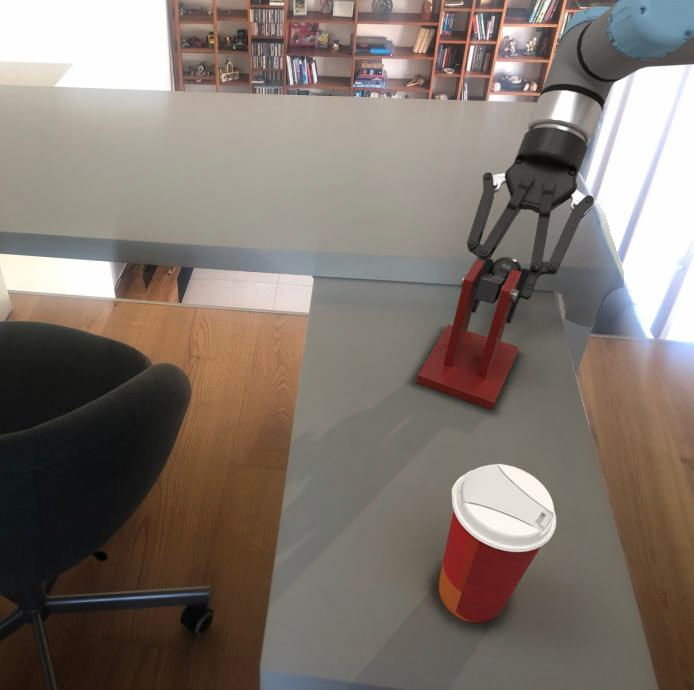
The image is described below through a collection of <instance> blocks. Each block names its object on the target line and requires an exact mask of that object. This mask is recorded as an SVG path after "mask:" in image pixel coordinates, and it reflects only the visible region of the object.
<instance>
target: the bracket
mask: <svg viewBox="0 0 694 690" xmlns="http://www.w3.org/2000/svg"><path fill="white" fill-rule="evenodd" d="M484 263H485V262H484V261H480V260H477V259H475V260H474V262H473V263H472V265H471V266H470V269H469V270H468V272H467V273H466V274H463V276H462V278H461V282H460V284H459V285H460V288H461V289H460V294H459V298H458V302H457V307H456V311H455V315H454V318H453V323H452V324H447V325H446V326H445V329H444V330H443V332H442V334H441V335H440V336H439V339H438V340H437V342H436V344H435V345H434V347H433V349H432V351H431V352H430V354H429V355H428V358H427V359H426V360H425V362H424V364H423V365H422V367H421V369H420V371H419V373H418V374H417V376H416V377H417V378H416V384H418V385H421V386H425V387H427V388H430V389H433V390H434V391H435V390H436V391H438V392H442V393H443V394H446V395H450V396H451V397H455V398H458V399H461V400H463V401H466V402H469V403H471V404H475V405H477V406H479V407H482V408H485V409H488V410H491V411H492V410H493V409H494V407H495V405H496V403H497V400H498V398H499V395H500V394H501V391H502V389H503V387H504V384H505V382H506V380H507V378H508V375H509V373H510V371H511V369H512V367H513V364H514V362H515V359H516V358H517V356H518V353H519V350H520V347H519V346H517V345H513V344H511V343H507V342H504V341H502V338H503V334H504V331H505V327H506V324H507V323H506V321H507V318H508V314H509V311H510V308H511V304H512V302H513V303H515V301H516V299H517V296H518V293H519V290H516V288H517V285H518V281H519V278H520V275H521V272H520V271H516V270H512V271H511V272H510V274H509V276H508V278H507V280H506V282H505V284H504V286H502V289H501V292H500V295H499V298H498V299H497V303H496V307H495V310H494V313H493V317H492V321H491V325H490V328H489V332H488V334H487V336H486V335H482V334H479V333H477V332H473V331H470V330H468V328H469V324H470V321H471V316H472V313H473V312H472V309H473V305H474V301H475V299H474V296H475V292H476V289H477V286H478V283H479V280H480V278H481V274H482V270H483V266H484Z"/></svg>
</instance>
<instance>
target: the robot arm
mask: <svg viewBox="0 0 694 690" xmlns="http://www.w3.org/2000/svg"><path fill="white" fill-rule="evenodd" d="M688 65H690V66H691V65H694V0H618V1H617V2H615V4H613V5H612V6H611V7H608V6H591V8H589V9H585V8H584V9H581V10H578V11H577V12H576V13H575V14H573V15H572V17H571V18H570V19H569V20H568V23H567V25H566V27H565V29H564V31H563V33H562V34H561V36H560V38H559V40H558V43H557V46H556V51H555V53H554V57H553V59H552V62H551V64H550V67H549V70H548V73H547V75H546V77H545V81H544V83H543V86H542V89H541V91H540V94H539V96H538V98H537V101H536V103H535V107H534V109H533V112H532V114H531V117H530V120H529V122H528V124H527V131H526V132H525V133H524V135H523V138H522V140H521V142H520V146H519V148H518V152H517V153H516V156H515V159H514V161H513V163H512V164H511V166H509V167H508V168H507V169H506V170H505V172H502V173H496V174H492V172H485V173H483V175H482V189H483V190H482V194H481V197H480V200H479V203H478V207H477V209H476V213H475V215H474V219H473V223H472V224H471V225H472V226H471V228H470V232H469V235H468V238H467V242H466V245H467V249H468V252H469V253H471V254H473V255H475V256H476V260H480V261H484V262H485V263H484V266H483V270H482V274H481V277H482V276H483V275H484V274H489V275H491V272H490V271H491V267H492V265H493V263H494V260H493V259H491V258H492V257H493V255H494V253H495V252H496V250H497V248H498V246H499V245H500V243H501V242H502V241H503V238H504V237H505V235H506V233H507V232H508V231H509V229H510V227H511V225H512V224H513V222H514V221H515V219H516V217H517V216H518V215H519V214H520V212H521V210H524V211H526V210H527V211H532V212H534V213H536V214H538V219H537V224H536V230H535V235H534V236H535V237H534V242H533V248H532V254H531V260H530V266H529V268H524V267H523V268H522V271H521V275H520V278H519V281H518V285H517V288H516V290H519V293H518V296H517V299H516V301H515V303H513V302H512V304H511V308H510V311H509V314H508V318H507V321H506V324H509V325H510V324H511V323H512V320H513V318H514V315H515V312H516V310H517V307H518V305H519V302H520V300H521V299H523V300H527V301H528V300H529V299H530V298H531V297H532V295H533V292H534V291H535V287H536V284H537V281H538V279H539V278H540V276H543V275H551V276H553V275H556V274H557V273H558V271H559V270H560V267H561V265H562V263H563V261H564V259H565V256H566V253H567V252H568V250H569V247H570V245H571V242H572V240H573V239H574V236H575V234H576V232H577V230H578V228H579V226H580V223H581V221H582V220H583V218H585V217H586V216H587V215H588V213H589V212H590V211H591V210H592V209H593V207H594V203H595V198H594V196H593V195H590V194H589V195H586V194H584V193H583V192H582V191H580V190H579V189H578V183H577V182H578V181H577V178H578V175H579V173H580V170H581V167H582V165H583V162H584V159H585V157H586V155H587V152H588V144H589V143H591V141H592V139H593V135H594V133H595V130H596V128H597V126H598V124H599V120H600V117H601V116H602V112H603V110H604V109H605V108H604V106H605V104H606V102H607V99H608V97H609V94H610V92H611V89H612V87H613V85H614V84H615V83H617V82H618V81H620V80H622V79H625V78H627V77H628V76H630V75H631V74H633V73H635V72H638V71H640V70H642V69H646V68H655V67H672V66H673V67H674V66H688ZM504 184H505V185H506V187H507V190H508V193H509V197H510V199H509V200H508V202H507V204H506V207H505V208H504V210H503V212H502V213H501V214H500V216H499V219H498V220H497V221H496V223H495V225H494V226H493V228H492V230H491V231H490V233H489V235H488V236H487V238H486V239H485V241H484V242H483V245H482V244H481V241H482V238H483V235H484V231H485V228H486V226H487V223H488V220H489V216H490V212H491V209H492V206H493V203H494V200H495V193H499V192H500V191H501V190H502V189H501V188H502V186H503V185H504ZM570 199H571V203H570V207H569V208H570V210H571V212H570V214H569V216H568V219H567V221H566V223H565V225H564V227H563V230H562V232H561V234H560V236H559V239H558V241H557V243H556V245H555V248H554V250H553V251H552V254H551V256H550V259H549V260H548V261H543V260H544V254H545V249H546V242H547V237H548V230H549V224H550V219H551V213H552V211H553V210H555V209H557V208H558V207H560V206H561V205H562V204H564V203H566V202H567V201H569V200H570ZM480 302H481V300H478V299H475V301H474V305H473V309H472V313H473V314H476V313H477V311H478V309H479V306H480Z"/></svg>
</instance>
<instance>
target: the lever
mask: <svg viewBox="0 0 694 690" xmlns="http://www.w3.org/2000/svg"><path fill="white" fill-rule="evenodd" d="M522 269H523V268H522V265H521V263H520V262H519V261H518V260H517V259H516V258H514V257H512V256H501V257H499V258H497V259H496V260H494V261H493V265H492V267H491V271H490V272H491V274H490V275H489V274H484V275H483V276H482V277H481V278H480V280H479V283H478V286H477V289H476V292H475V296H474V299H478V300H480V302H484V303H488V304H492V305H494V304H495V303H496V302H498V300H499V296H500V293H501V289H502V288H503V286H504V284H505V282H506V280H507V278H508V276H509V274H510V272H511V271H512V270H516V271H520V272H521V271H522Z"/></svg>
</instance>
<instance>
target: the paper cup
mask: <svg viewBox="0 0 694 690" xmlns="http://www.w3.org/2000/svg"><path fill="white" fill-rule="evenodd" d="M451 504H452V509H453V510H452V515H451V520H450V526H449V529H448V535H447V539H446V544H445V548H444V554H443V559H442V564H441V570H440V574H439V581H438V592H439V596H440V599H441V601H442V603H443V605H444V606H445V608H446V609H447V610H448V612H450V613H451V614H453V616H455V617H457V618H458V619H460V620H462V621H465V622H467V623H473V624H484V623H487V622H490V621H493V620H494V619H495V618H496V617H498V615H500V613H501V612H502V610H503V609H504V608H505V606H506V605H507V603H508V601H509V599H510V598H511V596H512V595H513V593H514V592H515V590H516V588H517V586H518V585H519V584H520V582H521V581H522V579H523V577H524V575H525V573H526V571H527V570H528V568H529V567H530V565H531V563H532V562H533V560H534V559H535V557H536V556H537V554H538V553H539V551H540V549H541V547H543V546H544V545H546V544H547V543H548V542H549V541H550V540H551V538H552V537H553V535H554V533H555V531H556V527H557V517H556V511H555V506H554V502H553V500H552V497H551V495H550V493H549V491H548V489H547V488H546V487H545V486H544V485H543V483H542V482H541V481H539V480H538V478H536V477H534V476H533V475H532V474H530V473H529V472H527V471H525V470H523V469H521V468H518V467H516V466H513V465H508V464H503V463H495V464H488V465H482V466H480V467H477V468H474V469H471V470H470V471H467V472H466V473H464V474H463V475H461V476H460V477H458V479H457V480H456V482H455V483H454V484H453V486H452V488H451Z"/></svg>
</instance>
